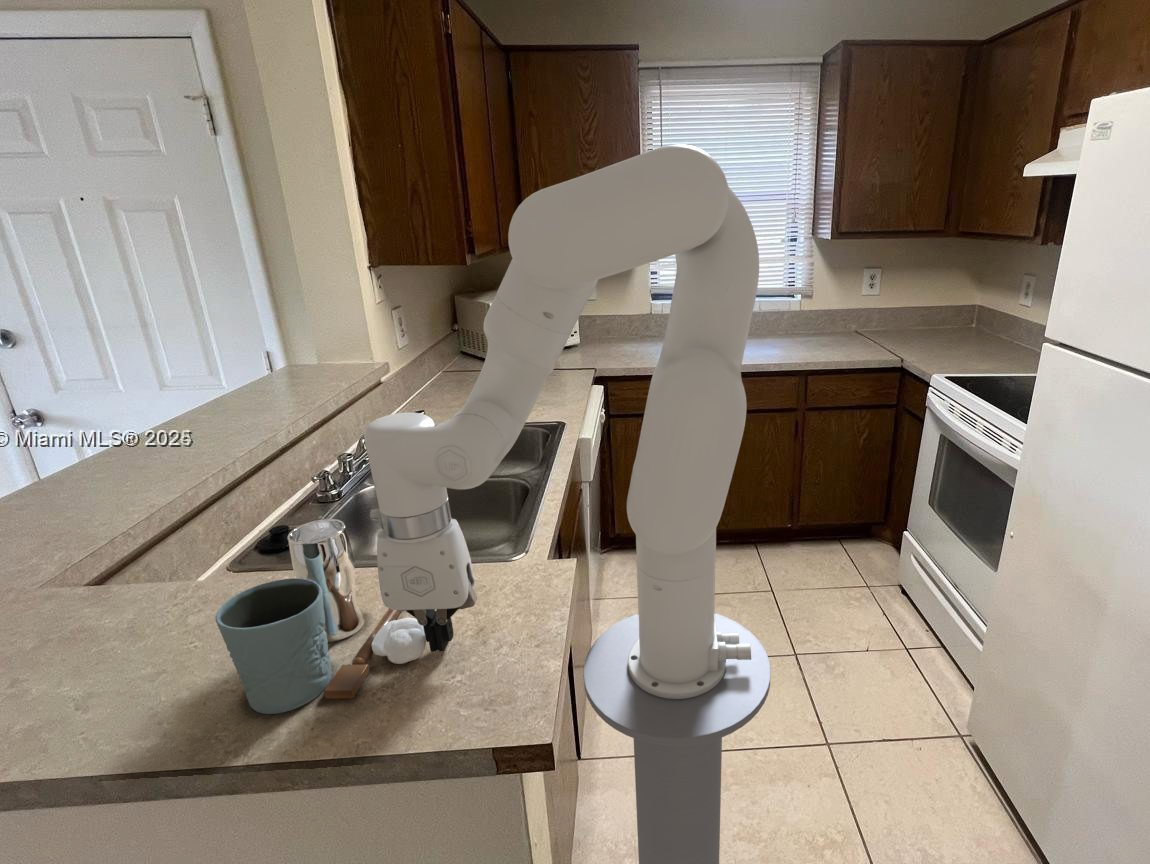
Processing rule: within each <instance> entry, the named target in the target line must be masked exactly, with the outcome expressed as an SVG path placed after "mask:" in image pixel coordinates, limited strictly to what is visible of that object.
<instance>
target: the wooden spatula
mask: <svg viewBox="0 0 1150 864" xmlns="http://www.w3.org/2000/svg"><path fill="white" fill-rule="evenodd" d="M401 612H402V611H401V610H394V609H390V608H387V611H386V612H385V613H384V615H383V616H382V617H381V619H380V621H379V622H378V623H377V625H376V626H375V627H374V629H373V630H372V632H371V633H370V635H369V636H368V637H367V639H366V640H365V642H364V643H363V644H362V646H361V647H360V649H359V650H358V652H357V653H356V654H355V656H354V658H353V659H352V661H351V664H341V666H340V668H339V669H338V670H337V672H335V675H333V677H332V678H331V680H330V682H329V684H328V686H327V687H326V688H325V689H324V691H323V693H324V697H325V699H326V700H331V699H333V700H334V699H337V700H338V699H354V698H355V696H356V694H357V693H358V691H359V690H360V688H361V687H362V685H363V684H364V682H365V680H366V679H367V677H368V676H369V674H370V673H371V671H370V668H369V664H367V663H368V662H369V661H370V659H371V657H372V656H373V654H375V653H374V652H373V650H372V642H373V639H374V637H375V636H376V634H377V633H378V632H379V631H380V629H381V628H382V627H383V626H384V625H386V624H387V623H388V622H390V621H394V620H397V618H398V617H399V615H400V614H401ZM374 635H375V636H374ZM373 636H374V637H373Z"/></svg>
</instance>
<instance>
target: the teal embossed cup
mask: <svg viewBox="0 0 1150 864" xmlns="http://www.w3.org/2000/svg"><path fill="white" fill-rule="evenodd" d="M323 606H324V605H323V595H322V588H321V586H320V585H319V584H318V583H316V582H315V581H312V580H309V579H304V578H296V577H292V578H283V579H276V580H272V581H268V582H264V583H260V584H257V585H256V586H252V587H249V588H247V589H245V590H243V591H241V592H239V593H237V594H236V595H234V596H232V597H231V598H229V599H228V600H227V601H225V602H224V603H223V604H222V606H221V607H219V609H218V610H217V612H216V614H215V623H216V625H217V627H218V630H219V632H220V634H221V637H222V639H223V641H224V643H225V646H226V649H227V651H228V652H229V657H230V658H231V659H232V660H231V662H232V663H233V665H234V667H235V669H236V673H237V675H238V677H239V679H238V680H239V681H240V685H241V686H242V689H243V691H245V696H246V700H247V701H248V704H249V706H250V707H251V709H253V710H254V711H255V712H257V713H259V714H264V715H277V714H282V713H286V712H290V711H293V710H296V709H298V708H301V707H303V706H305V705H307V704H308V703H310V702H312V701H313V700H315V699H316V698H317V697H318V696H320V695H321V694H322V693H324V690H325V688H326V687H327V686H328V684H329V683H330V681H331V680H332V665H331V659H330V658H331V657H330V653H329V651H328V650H329V646H328V645H329V644H328V643H329V642H328V640H327V634H326V632H325V629H324V628H325V616H324V609H323Z"/></svg>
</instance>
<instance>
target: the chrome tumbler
mask: <svg viewBox="0 0 1150 864" xmlns="http://www.w3.org/2000/svg"><path fill="white" fill-rule="evenodd" d="M287 542H288V549H289V554H290V555H289V556H290V561H291V565H292V569H293V573H294V575H295V578H304V579H309V580H312V581H315V582H316V583H318V584H319V585H320V586H321V588H322V595H323V605H324V606H323V609H324V616H325V628H324V629H325V632H326V634H327V640H328V643H332V642H339V641H343V640H345V639H347V638H350V637H351V636H353V635H355V634H357V633H358V632H359V631H360V630H361V629H362V628H363V626H364V624H365V617H364V614H363V612H362V611H361V608H360V607H359V604H358V600H357V595H356V594H357V593H356V559H355V554H354V550H353V546H352V542H351V539H350V535H349V532H348V530H347V527H346V522H345V521H343V520H341V519H336V518H325V519H323V518H322V519H318V520H313V521H309V522H306V523H303V524H301V525H299V526H297V527H295V528H293V530H291V531H290V532H289V533H288V535H287Z"/></svg>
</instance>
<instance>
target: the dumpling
mask: <svg viewBox="0 0 1150 864" xmlns="http://www.w3.org/2000/svg"><path fill="white" fill-rule="evenodd" d="M374 636H375V635H374ZM374 636H373V637H374ZM426 647H427V641H426V637H425V632H424V628H423V626H422V625H419V624H418V622H417V619H416V618H415V617H403V618H400V619H396V620H394V621H390V622H388V623H387V624H386V625H384V626H383V627H382V628H381V629H380V631H379V632H378V633H377V634H376V636H375V637H374V639H373V642H372V650H373V652H374V653H373V654H374V655H376V656H380V657H385V656H386V657H387V660H388V661H389V662H391V663H392V664H395V665H402V664H406V663H409V662H412V661H415V660H417V659H419V658H420V657H421V656H422V655H423V653H424V652H425V650H426Z"/></svg>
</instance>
